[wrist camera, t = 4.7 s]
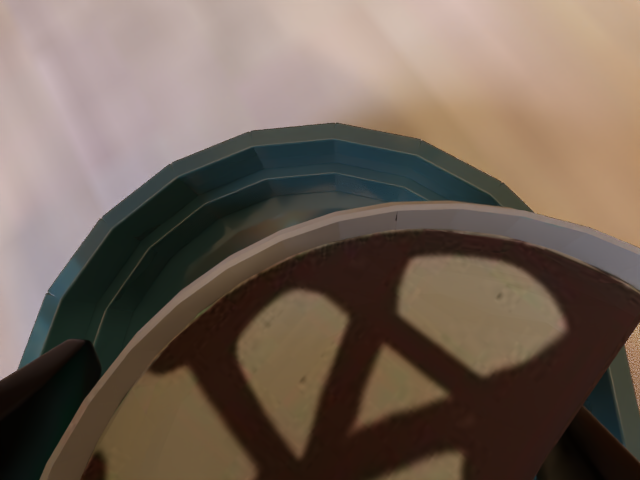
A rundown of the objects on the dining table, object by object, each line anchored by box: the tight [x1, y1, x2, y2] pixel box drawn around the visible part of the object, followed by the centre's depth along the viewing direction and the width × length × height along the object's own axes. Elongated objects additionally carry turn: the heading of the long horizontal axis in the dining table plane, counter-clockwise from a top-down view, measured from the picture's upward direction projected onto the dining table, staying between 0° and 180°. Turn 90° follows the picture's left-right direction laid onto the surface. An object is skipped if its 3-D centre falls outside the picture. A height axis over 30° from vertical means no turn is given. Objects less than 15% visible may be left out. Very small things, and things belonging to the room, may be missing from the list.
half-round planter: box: [40, 201, 640, 480], centre depth 10 cm, size 12×6×10 cm, turn 140°
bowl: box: [17, 123, 640, 480], centre depth 13 cm, size 17×17×4 cm
